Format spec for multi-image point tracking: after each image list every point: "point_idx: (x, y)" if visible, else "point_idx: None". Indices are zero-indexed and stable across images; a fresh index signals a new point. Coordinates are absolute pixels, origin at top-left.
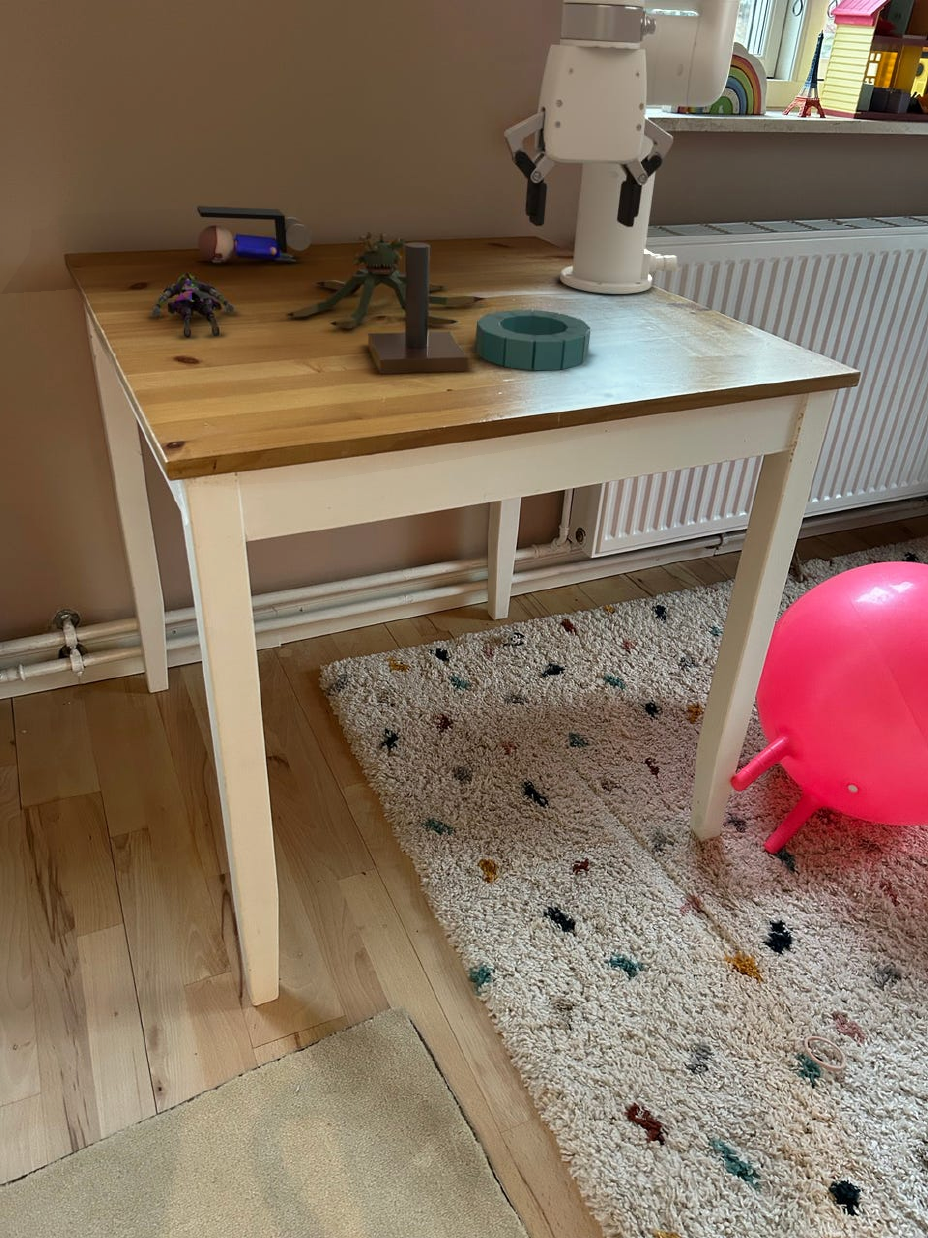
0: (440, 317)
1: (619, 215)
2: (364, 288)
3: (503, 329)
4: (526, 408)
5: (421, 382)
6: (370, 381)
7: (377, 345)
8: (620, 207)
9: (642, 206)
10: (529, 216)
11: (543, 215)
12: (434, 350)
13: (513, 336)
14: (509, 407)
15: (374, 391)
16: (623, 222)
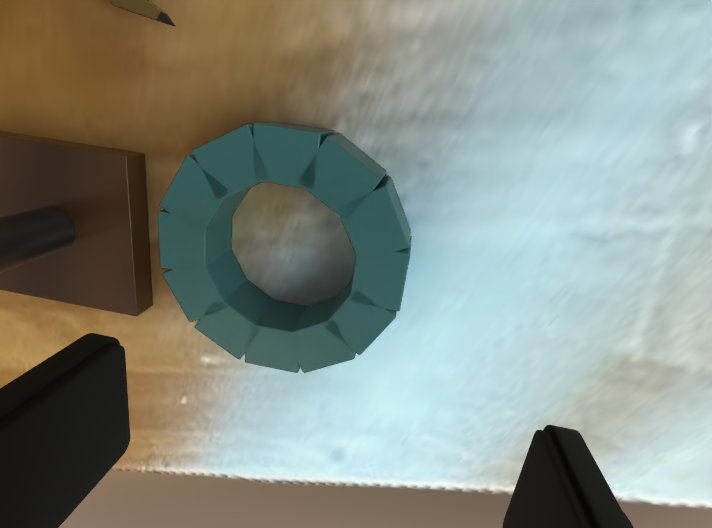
0: (127, 3)
1: (538, 470)
2: None
3: (202, 274)
4: (205, 455)
5: (78, 328)
6: (6, 303)
7: None
8: (552, 506)
9: None
10: (83, 340)
11: (99, 473)
12: (84, 268)
13: (210, 322)
14: (184, 445)
15: (13, 341)
16: (513, 503)
